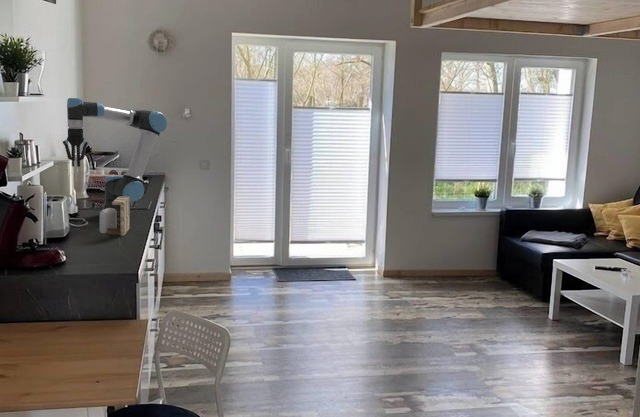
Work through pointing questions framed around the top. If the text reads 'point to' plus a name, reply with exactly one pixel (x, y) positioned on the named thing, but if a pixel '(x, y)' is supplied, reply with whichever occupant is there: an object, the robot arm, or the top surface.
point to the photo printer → (108, 219)
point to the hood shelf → (122, 216)
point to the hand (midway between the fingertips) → (76, 172)
